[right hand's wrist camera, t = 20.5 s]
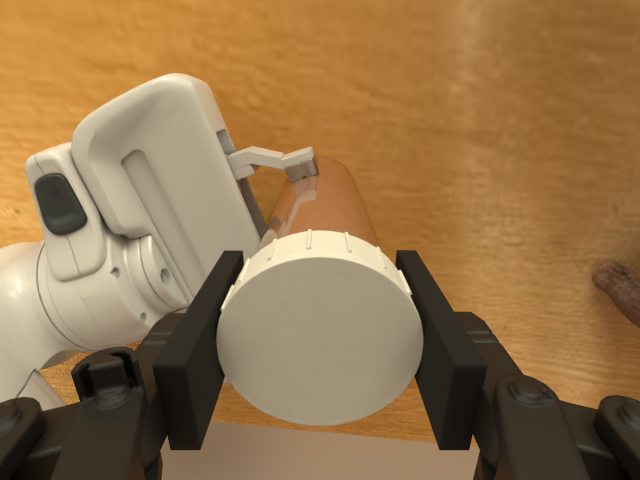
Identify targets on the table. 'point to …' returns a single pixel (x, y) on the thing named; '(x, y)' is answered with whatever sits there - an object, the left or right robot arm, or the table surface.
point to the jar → (321, 206)
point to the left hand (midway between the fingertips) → (333, 212)
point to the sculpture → (620, 288)
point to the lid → (319, 330)
